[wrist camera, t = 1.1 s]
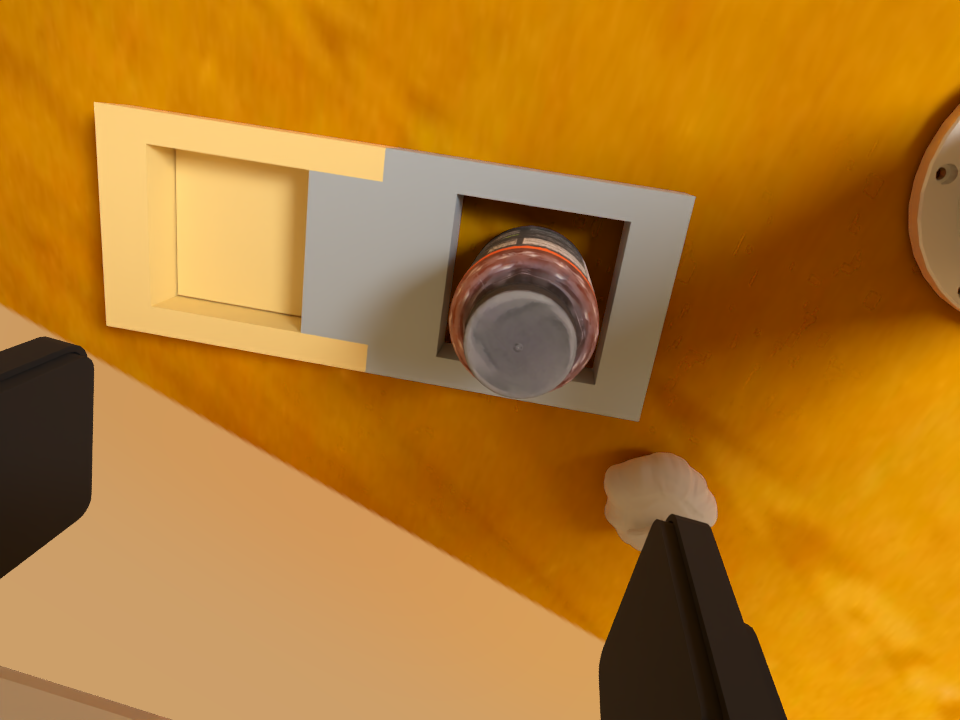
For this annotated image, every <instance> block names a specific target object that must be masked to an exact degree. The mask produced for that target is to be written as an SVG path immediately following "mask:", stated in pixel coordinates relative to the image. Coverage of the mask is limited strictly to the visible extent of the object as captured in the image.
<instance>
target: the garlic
mask: <svg viewBox="0 0 960 720" xmlns="http://www.w3.org/2000/svg"><path fill="white" fill-rule="evenodd" d="M604 489H605V492H606V494H607V496H608V498H607V503H606V506H605V516H606V519H607V520H608V522H609V523H610V524H612V525H613V526H614V527H615V528H616V531H617V533H618V535H619V537H620V538H621V539H622V540H623V541H624V542H625V543H627V544H630V545H631V546H632V547H634V548H635V549H637V550H639V551H642V548H643V546H644V543H645V541H646V538H647V536H648V533H649V531H650V528H651V526H652V524H653V522H654V521H655V520H656V519H659V520H663V521H666V519H667V518H668V516H669V515H670V514H675V515H679V516H683V517H686V518H690V519H693V520H697V521H700V522H704V523H707V524H709V526H710V527H712V526H713V525H714V524H715V523H716V520H717V505H716V500H715V498H714V496H713V495H712V493H711V492H710V491H709V489H708V488H707V483H706V480H705V479H704V477H703V476H702V475H701V474H700V473H699V472H697V471H696V470H694V469H693V468H692V467H690V466H689V464H688V463H687V461H686V460H684V459H683V458H681V457H679V456H676V455H674V454H672V453H665V452H657V453H653V454H651V455H646V456H642V457H637V458H633V459H630V460H627V461H625V462H623V463H620V464H615V465H613V466H611V467H609V468H608V469H607V471H606V473H605V479H604Z"/></svg>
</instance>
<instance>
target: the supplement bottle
mask: <svg viewBox="0 0 960 720" xmlns="http://www.w3.org/2000/svg"><path fill="white" fill-rule="evenodd" d="M449 332H450V338H451V342H452V345H453V347H454V350H455V353H456V355H457V356H458V358H459V360H460V361H461V363H462V364H463V366H464V367H465V369H466V370H467V371H468V372H469V373H470V374H471V375H472V376H473V377H475V378H476V379H477V380H478V381H479V382H480V383H481V384H482V385H483V386H485V387H486V388H488V389H489V390H491V391H492V392H494V393H496V394H499V395H501V396H504V397H509V398H514V399H528V398H534V397H537V396H540V395H543V394H545V393H548V392H552V391H553V390H556V389H558V388H560V387H562V386H564V385H565V384H567V383H568V382H570V381H571V380H572V379H573V378H574V377H575V376H577V375H578V374H579V372H580V371H581V370H582V369H583V368H584V367H585V365H586V364H587V362H588V361H589V360H590V358H591V356H592V354H593V352H594V350H595V347H596V344H597V339H598V335H599V311H598V306H597V300H596V297H595V294H594V290H593V287H592V283H591V280H590V276H589V273H588V269H587V266H586V264H585V262H584V260H583V258H582V256H581V254H580V252H579V251H578V249H577V248H576V247H575V246H574V245H573V243H572V242H571V241H569V240H568V239H567V238H566V237H564V236H563V235H561V234H560V233H558V232H556V231H553V230H551V229H548V228H544V227H539V226H521V227H517V228H513V229H510V230H507V231H505V232H503V233H501V234H500V235H498V236H497V237H495V238H494V239H492V240H491V241H490V242H489V243H488V244H487V245H486V246H485V247H484V248H483V249H482V250H481V252H480V253H479V255H478V256H477V257H476V259H475V260H474V262H473V263H472V265H471V266H470V268H469V269H468V271H467V272H466V273H465V275H464V277H463V278H462V279H461V281H460V283H459V284H458V286H457V288H456V291H455V294H454V296H453V299H452V302H451V307H450V313H449Z"/></svg>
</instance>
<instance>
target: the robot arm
mask: <svg viewBox="0 0 960 720" xmlns="http://www.w3.org/2000/svg"><path fill="white" fill-rule="evenodd" d="M938 169H940V170H941V173H940V175H939V177H938V178H936V172H937V171H938ZM909 236H910V240H911V245H912V250H913V255H914V257H915V259H916V262H917V264H918V266H919V268H920V270H921V273H922V275H923V277H924V278H925V279H926V281H927V282H928V283H929V284H930V286H931V287H932V288H933V290H934V291H935V292H936V293H937V295H938V296H940V297H941V298H942V299H943V300H944V301H946V302H947V303H948V304H949V305H951V306H952V307H953V308H954V309H956V310H957V311H959V312H960V290H958V288H959V287H960V104H959V105H958V106H957V107H956V108H955V110H954V111H953V112H952V113H951V114H950V115H949V117H948V118H947V119H946V120H945V121H944V122H943V124H942V125H941V127H940V128H939V130H938V132H937V133H936V135H935V136H934V138H933V140H932V141H931V143H930V144H929V146H928V148H927V149H926V151H925V154H924V156H923V159H922V161H921V163H920V166H919V168H918V171H917V173H916V175H915V178H914V183H913V188H912V192H911V197H910V202H909ZM93 393H94V365H93V362H92V360H91V359H89V358H88V357H87V354H86V352H85V350H84V349H83V348H82V347H81V346H78V345H74V344H70V343H67V342H63V341H60V340H56V339H52V338H49V337H39V338H36V339H33V340H31V341H28V342H25V343H22V344H20V345H17V346H14V347H11V348H9V349H6V350H3V351H0V578H2V577H3V576H5V575H6V574H7V573H8V572H10V571H11V570H12V569H14V568H15V567H17V566H18V565H19V564H20V563H22V562H23V561H24V560H26V559H27V558H28V557H30V556H31V555H32V554H34V553H35V552H36V551H37V550H39V549H40V548H41V547H43V546H44V545H45V544H47V543H48V542H49V541H51V540H52V539H53V538H55V537H56V536H57V535H59V534H60V533H61V532H62V531H64V530H65V529H66V528H68V527H69V526H70V525H72V524H73V523H74V522H76V521H77V520H78V519H79V518H80V517H81V516H83V514H84V513H85V512H86V510H87V508H88V506H89V504H90V501H91V492H92V491H91V490H92V443H93V440H92V439H93ZM599 690H600V713H601V720H787V717H786V715H785V712H784V709H783V706H782V704H781V701H780V698H779V695H778V693H777V690H776V687H775V685H774V682H773V679H772V676H771V674H770V671H769V668H768V665H767V663H766V660H765V657H764V654H763V652H762V649H761V646H760V644H759V641H758V638H757V636H756V634H755V632H754V630H753V628H752V627H750V626H749V625H748V624H745V623H744V622H743V619H742V616H741V613H740V610H739V607H738V604H737V601H736V599H735V596H734V593H733V590H732V587H731V584H730V581H729V579H728V576H727V573H726V570H725V567H724V564H723V561H722V559H721V556H720V553H719V550H718V547H717V544H716V541H715V539H714V536H713V533H712V530H711V527H710V526H709V524H707V523H704V522H700V521H697V520H693V519H690V518H686V517H683V516H679V515H675V514H670V515H669V516H668V518H667V519H666V521H663V520H659V519H656V520H655V521H654V522H653V524H652V526H651V528H650V531H649V533H648V536H647V538H646V541H645V543H644V546H643V548H642V551H641V553H640V556H639V559H638V561H637V564H636V566H635V569H634V571H633V574H632V576H631V579H630V581H629V584H628V586H627V589H626V591H625V594H624V597H623V599H622V602H621V604H620V607H619V609H618V612H617V614H616V617H615V619H614V622H613V624H612V627H611V629H610V632H609V635H608V637H607V640H606V642H605V645H604V647H603V651H602V654H601V658H600V664H599ZM0 720H171V719H168V718H165V717H161V716H158V715H155V714H152V713H148V712H146V711H142V710H139V709H136V708H133V707H130V706H127V705H124V704H120V703H117V702H114V701H111V700H108V699H105V698H101V697H98V696H95V695H92V694H88V693H85V692H82V691H79V690H76V689H73V688H69V687H66V686H63V685H60V684H56V683H53V682H50V681H47V680H43V679H41V678H37V677H34V676H31V675H28V674H24V673H21V672H18V671H15V670H12V669H9V668H6V667H2V666H0Z"/></svg>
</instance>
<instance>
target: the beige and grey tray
mask: <svg viewBox="0 0 960 720" xmlns="http://www.w3.org/2000/svg"><path fill="white" fill-rule="evenodd" d="M94 112H95V130H96V148H97V166H98V184H99V202H100V220H101V238H102V256H103V273H104V291H105V309H106V326H112V327H117V328H123V329H128V330H134V331H139V332H145V333H150V334H156V335H161V336H167V337H172V338H178V339H184V340H189V341H195V342H200V343H206V344H211V345H217V346H222V347H228V348H233V349H239V350H244V351H250V352H255V353H261V354H267V355H272V356H278V357H283V358H289V359H294V360H300V361H305V362H311V363H316V364H322V365H327V366H333V367H338V368H344V369H350V370H355V371H361V372H366V373H372V374H377V375H383V376H388V377H394V378H399V379H405V380H410V381H416V382H421V383H427V384H433V385H438V386H444V387H449V388H455V389H460V390H466V391H471V392H477V393H482V394H488V395H493V396H499V397H504V396H501V395H499V394H496V393H494V392H492V391H491V390H489V389H488V388H486V387H485V386H483V385H482V384H481V383H480V382H479V381H478V380H477V379H476V378H475V377H473V376H472V375H471V374H470V373H469V372H468V371H467V370H466V369H465V367H464V366H463V364H462V363H461V361H460V360H459V358H458V356H457V355H456V353H455V350H454V347H453V345H452V343H446V342H444V341H445V334H446V326H447V319H448V311H449V304H450V296H451V289H452V281H453V274H454V266H455V259H456V251H457V244H458V236H459V229H460V221H461V214H462V206H463V198H464V195H467V196H474V197H480V198H486V199H492V200H498V201H505V202H511V203H517V204H523V205H529V206H536V207H542V208H548V209H554V210H560V211H567V212H573V213H579V214H585V215H592V216H598V217H604V218H610V219H616V220H623V221H625V222H624V227H623V231H622V236H621V241H620V245H619V250H618V254H617V259H616V263H615V268H614V273H613V277H612V282H611V286H610V291H609V295H608V300H607V304H606V309H605V314H604V318H603V323H602V327H601V332H600V336H599V341H598V346H597V350H596V355H595V359H594V364H593V368H588V367H584V368H583V369H582V370H581V371H580V372H579V374H578V375H577V376H575V377H574V378H573V379H572V380H571V381H570V382H568V383H567V384H565V385H564V386H562V387H560V388H558V389H556V390H553V391H552V392H548V393H545V394H543V395H540V396H537V397H534V398H528V399H516V400H521V401H527V402H532V403H538V404H543V405H549V406H554V407H560V408H565V409H571V410H576V411H582V412H587V413H593V414H599V415H604V416H610V417H615V418H621V419H626V420H632V421H637V422H639V419H640V415H641V411H642V407H643V403H644V399H645V395H646V392H647V388H648V384H649V380H650V376H651V372H652V368H653V364H654V360H655V356H656V352H657V348H658V344H659V340H660V336H661V332H662V328H663V324H664V320H665V316H666V312H667V308H668V305H669V301H670V297H671V293H672V289H673V285H674V281H675V277H676V273H677V269H678V265H679V261H680V257H681V253H682V249H683V245H684V241H685V237H686V233H687V229H688V225H689V222H690V218H691V214H692V210H693V206H694V202H695V198H696V197H695V196H692V195H690V194H687V193H684V192H678V191H671V190H665V189H659V188H652V187H646V186H640V185H633V184H627V183H621V182H614V181H608V180H602V179H595V178H589V177H582V176H576V175H570V174H563V173H557V172H551V171H544V170H538V169H532V168H525V167H519V166H512V165H506V164H500V163H493V162H487V161H481V160H474V159H468V158H462V157H455V156H449V155H443V154H436V153H430V152H423V151H417V150H411V149H404V148H398V147H392V146H385V145H379V144H373V143H366V142H360V141H353V140H347V139H341V138H334V137H328V136H322V135H315V134H309V133H303V132H296V131H290V130H284V129H277V128H271V127H264V126H258V125H252V124H245V123H239V122H233V121H226V120H220V119H214V118H207V117H201V116H194V115H188V114H182V113H175V112H169V111H163V110H156V109H150V108H144V107H137V106H131V105H122V104H111V103H100V102H94ZM179 295H183V296H179ZM185 296H188V297H185ZM191 297H194V298H191ZM196 298H200V299H196ZM202 299H205V300H202ZM208 300H211V301H208ZM213 301H217V302H213ZM219 302H222V303H219ZM225 303H228V304H225ZM230 304H234V305H230ZM236 305H239V306H236ZM242 306H245V307H242ZM247 307H251V308H247ZM253 308H256V309H253ZM259 309H262V310H259ZM264 310H268V311H264ZM270 311H273V312H270ZM276 312H279V313H276ZM281 313H285V314H281ZM287 314H290V315H287ZM293 315H296V316H293ZM298 316H302V317H298ZM504 398H509V397H504ZM510 399H514V398H510Z"/></svg>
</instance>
